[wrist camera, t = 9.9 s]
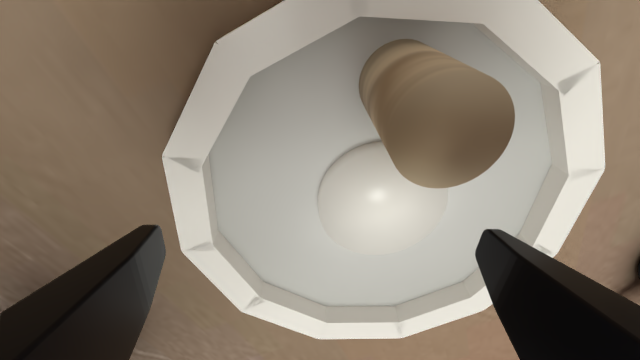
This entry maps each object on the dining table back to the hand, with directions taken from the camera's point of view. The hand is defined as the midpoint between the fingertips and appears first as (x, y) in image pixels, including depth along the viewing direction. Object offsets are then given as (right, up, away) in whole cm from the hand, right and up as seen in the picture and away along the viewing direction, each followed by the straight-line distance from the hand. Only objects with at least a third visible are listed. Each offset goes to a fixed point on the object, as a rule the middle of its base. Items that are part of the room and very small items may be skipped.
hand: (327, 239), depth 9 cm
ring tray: (+4, +1, +13) cm, 14 cm away
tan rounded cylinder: (+4, +7, +8) cm, 12 cm away
